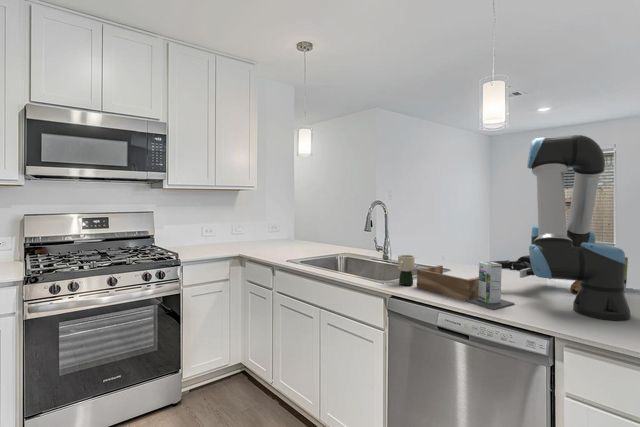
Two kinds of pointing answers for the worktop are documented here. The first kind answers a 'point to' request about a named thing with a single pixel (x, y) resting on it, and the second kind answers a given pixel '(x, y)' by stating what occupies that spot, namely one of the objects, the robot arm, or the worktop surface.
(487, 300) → the syrup box
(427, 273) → the wooden crate
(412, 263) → the character mug
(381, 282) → the worktop surface
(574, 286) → the bread roll
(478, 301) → the mat
